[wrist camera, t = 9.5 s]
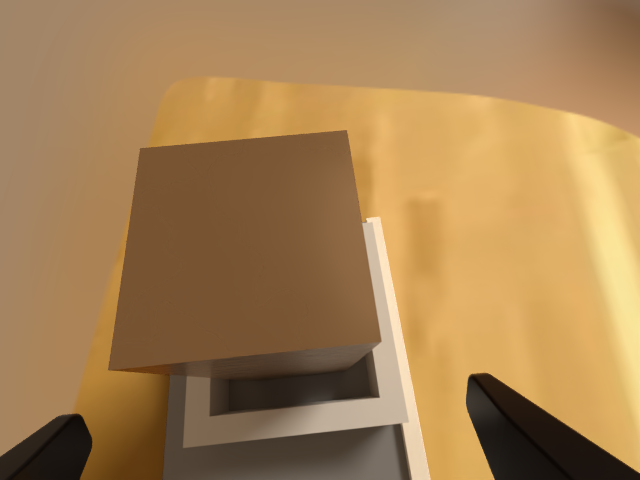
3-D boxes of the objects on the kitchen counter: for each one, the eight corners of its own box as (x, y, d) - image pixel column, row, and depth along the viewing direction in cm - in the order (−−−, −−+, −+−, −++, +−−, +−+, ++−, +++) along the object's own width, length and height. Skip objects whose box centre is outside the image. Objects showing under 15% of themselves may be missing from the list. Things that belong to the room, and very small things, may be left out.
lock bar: (344, 372, 17) (382, 341, 6) (255, 381, 17) (108, 370, 5) (334, 286, 19) (346, 130, 7) (253, 294, 19) (140, 148, 7)
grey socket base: (460, 679, 13) (511, 790, 10) (155, 719, 13) (89, 850, 9) (376, 228, 21) (386, 194, 18) (186, 246, 21) (156, 216, 17)
